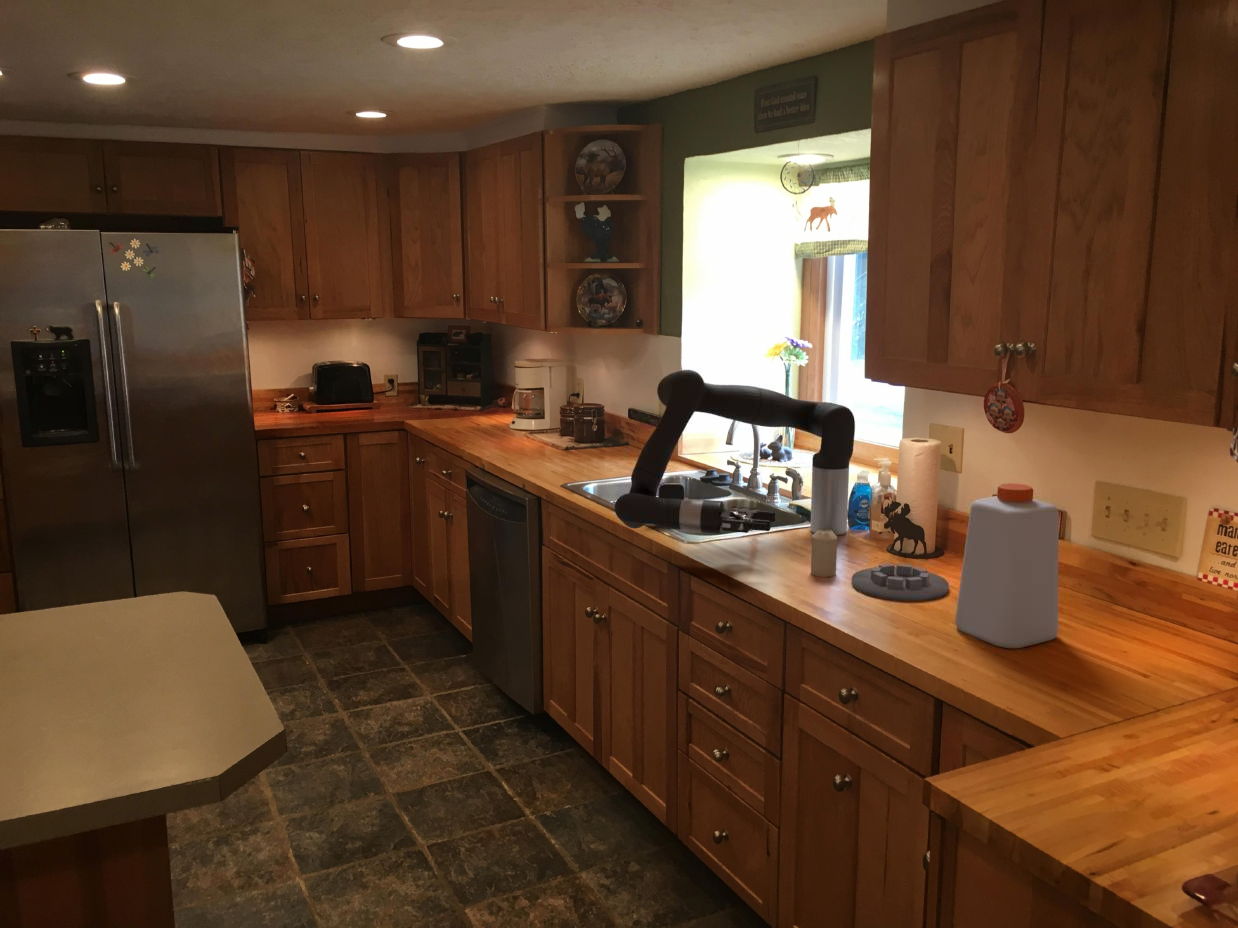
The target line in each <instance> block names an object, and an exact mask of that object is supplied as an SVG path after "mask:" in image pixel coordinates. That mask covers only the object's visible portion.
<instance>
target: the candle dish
mask: <svg viewBox="0 0 1238 928" xmlns="http://www.w3.org/2000/svg"><path fill="white" fill-rule="evenodd" d="M851 586H852V588H854V589H855V590H856V591H857V592H859V593H862V594H864V595H866V596H870V597H874V598H877V599H882V600H888V601H895V602H896V601H897V602H909V603H910V602H926V601H933V600H937V599H938V600H939V599H941V598H943V597H945V596H946V595H947V594H948V593H949V590H950V589H949V588H950V583H949V582H948V580H947V579H946V578H944V577H942V576H941V575H938V574H936V573H933V572H929V571H928V570H926V569H924V568H922V567H919V566H916V567H913V565H911V564H905V563H897V565H896V566H895V565H894V564H892V563H884V564H883V563H882V564H878V566H873V567H869V568H864V569H860V570H858V571H856V572H854V573H853V574H852V575H851Z"/></svg>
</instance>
